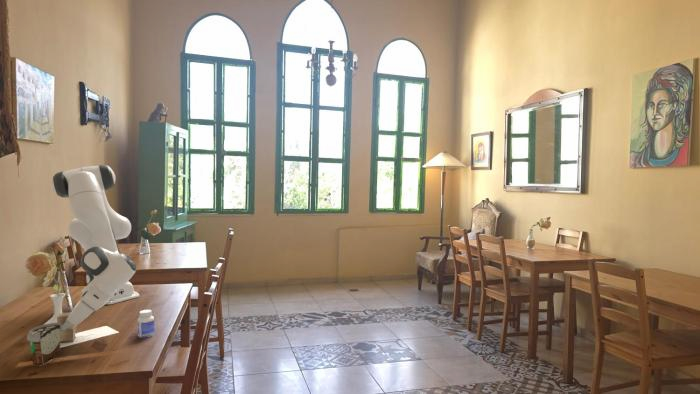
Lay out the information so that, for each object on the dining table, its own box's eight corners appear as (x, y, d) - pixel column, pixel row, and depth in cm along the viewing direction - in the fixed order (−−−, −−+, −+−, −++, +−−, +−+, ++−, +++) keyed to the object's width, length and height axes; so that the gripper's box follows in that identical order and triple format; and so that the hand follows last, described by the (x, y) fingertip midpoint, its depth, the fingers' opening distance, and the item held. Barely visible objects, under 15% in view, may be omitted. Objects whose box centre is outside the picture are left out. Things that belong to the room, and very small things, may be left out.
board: (106, 328, 169) (106, 325, 169) (119, 335, 162) (119, 332, 162) (44, 344, 154) (44, 340, 154) (56, 352, 147) (56, 348, 147)
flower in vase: (44, 329, 169) (41, 263, 168) (79, 324, 174) (77, 260, 172) (35, 340, 157) (33, 270, 156) (73, 336, 162) (71, 267, 160)
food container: (42, 352, 147) (41, 322, 146) (62, 351, 148) (61, 321, 147) (18, 368, 135) (17, 335, 134) (40, 368, 135) (38, 335, 135)
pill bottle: (158, 336, 161) (157, 309, 161) (146, 341, 156) (146, 314, 156) (146, 334, 163) (145, 308, 163) (134, 339, 158) (133, 312, 158)
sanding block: (75, 337, 157) (74, 311, 157) (73, 341, 153) (72, 315, 152) (60, 339, 155) (59, 313, 155) (57, 343, 151) (56, 317, 151)
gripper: (92, 282, 165) (62, 312, 162) (83, 296, 147) (49, 330, 143) (106, 293, 167) (77, 322, 164) (99, 308, 148) (66, 341, 145)
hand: (64, 326), depth 154 cm, fingers closed on sanding block, 4 cm apart
